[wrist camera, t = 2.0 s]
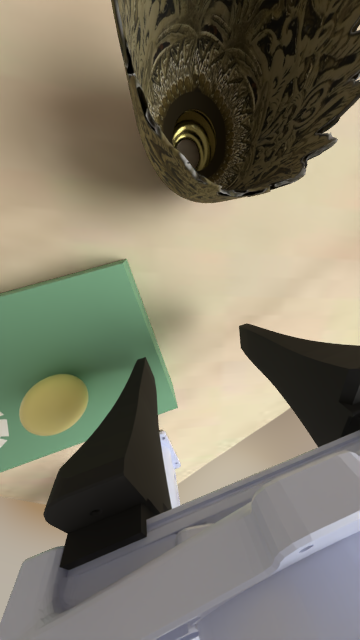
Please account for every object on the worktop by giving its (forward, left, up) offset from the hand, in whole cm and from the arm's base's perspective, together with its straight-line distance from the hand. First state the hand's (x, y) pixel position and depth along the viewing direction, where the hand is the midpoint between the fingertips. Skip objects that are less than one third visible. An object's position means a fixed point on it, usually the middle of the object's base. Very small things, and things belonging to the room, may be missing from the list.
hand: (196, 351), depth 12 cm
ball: (0, +10, 0) cm, 10 cm away
